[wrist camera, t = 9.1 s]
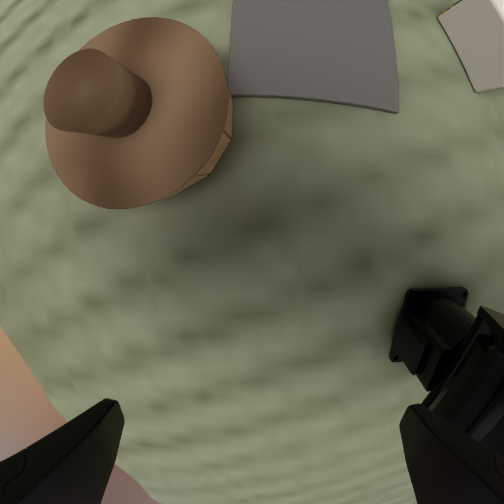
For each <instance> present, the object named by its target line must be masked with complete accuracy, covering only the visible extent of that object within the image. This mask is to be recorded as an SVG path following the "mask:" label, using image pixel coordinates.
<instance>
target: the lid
mask: <svg viewBox="0 0 504 504" xmlns="http://www.w3.org/2000/svg"><path fill="white" fill-rule="evenodd" d="M228 107H229V89H228V83H227V78H226V75H225V72H224V69H223V66H222V64H221V61H220V58H219V57H218V55H217V53H216V51H215V49H214V48H213V47H212V45H211V44H210V43H209V42H208V40H207V39H206V38H205V37H204V36H202V35H201V34H200V33H199V32H198V31H196V30H195V29H193V28H192V27H190V26H188V25H186V24H183V23H181V22H179V21H175V20H171V19H167V18H157V17H151V18H139V19H134V20H130V21H126V22H123V23H120V24H118V25H115V26H113V27H111V28H109V29H107V30H105V31H103V32H102V33H100V34H98V35H97V36H96V37H94V38H93V39H91V40H90V41H89V42H88V43H86V44H85V45H84V46H83V47H82V48H81V49H80V50H79V51H77V52H75V53H73V54H71V55H70V56H68V57H67V58H66V59H65V60H64V61H63V62H62V63H61V64H60V65H59V66H58V67H57V68H56V70H55V71H54V72H53V74H52V76H51V78H50V80H49V82H48V84H47V87H46V90H45V95H44V112H45V115H46V144H47V149H48V153H49V157H50V160H51V163H52V165H53V167H54V169H55V171H56V173H57V175H58V176H59V178H60V179H61V181H62V182H63V184H64V185H65V186H66V187H67V188H68V189H69V190H70V191H71V192H72V193H74V194H75V195H76V196H77V197H79V198H80V199H82V200H84V201H86V202H88V203H90V204H93V205H95V206H98V207H103V208H108V209H129V208H135V207H139V206H143V205H147V204H150V203H152V202H155V201H158V200H160V199H163V198H165V197H167V196H169V195H170V194H172V193H174V192H176V191H177V190H179V189H180V188H181V187H183V186H184V185H186V184H187V183H188V182H189V181H190V180H191V179H192V178H193V177H195V176H196V175H197V174H198V172H199V171H200V170H201V169H202V168H203V167H204V165H205V164H206V163H207V161H208V160H209V158H210V157H211V155H212V154H213V152H214V151H215V149H216V147H217V145H218V143H219V141H220V138H221V136H222V133H223V131H224V128H225V124H226V120H227V115H228Z"/></svg>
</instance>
